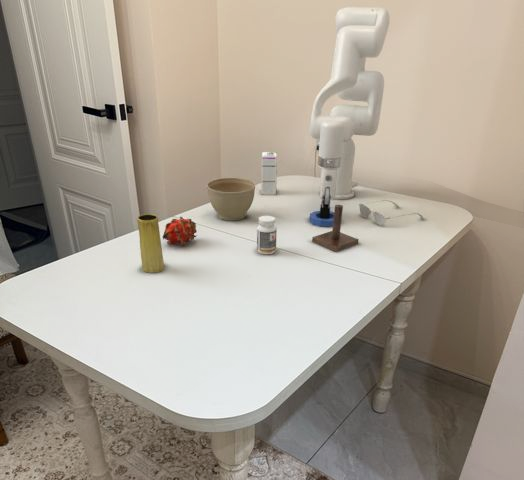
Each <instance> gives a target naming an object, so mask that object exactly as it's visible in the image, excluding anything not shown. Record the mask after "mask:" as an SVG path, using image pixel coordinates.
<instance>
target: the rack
mask: <svg viewBox="0 0 524 480" xmlns="http://www.w3.org/2000/svg"><path fill="white" fill-rule="evenodd" d="M343 211H344V205H342V204H335V205H334V211H333V212H334V219H333V226H332V229H331V231H327V232H324V233H321V234H318V235H314V236H312V238H311V242H312V243H314V244H317V245H319V246H320V247H323V248H326V249H328V250H331V251H333V252H335V253H336V252H339V251H343V250H345V249H347V248H351V247H354V246H356V245H359V238H356V237H353V236H351V235H349V234H346V233H343V232H341V229H342V219H343Z"/></svg>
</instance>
